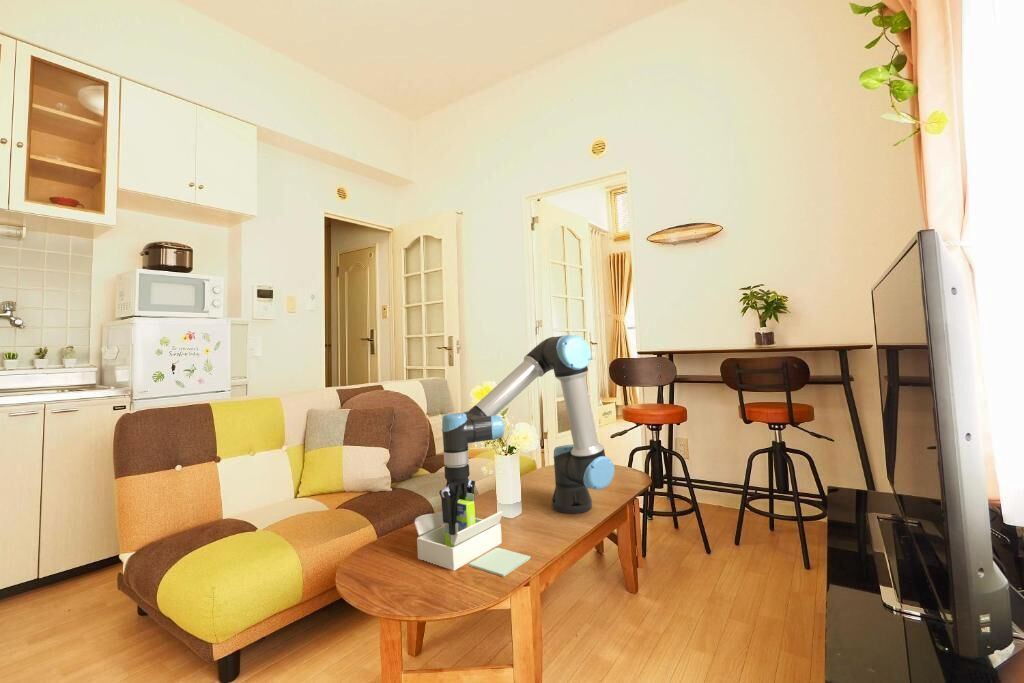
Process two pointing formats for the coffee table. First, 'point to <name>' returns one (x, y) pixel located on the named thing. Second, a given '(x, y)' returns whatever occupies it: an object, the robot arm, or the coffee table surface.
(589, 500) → the robot arm
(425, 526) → the flap far
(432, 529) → the candle
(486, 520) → the flap near
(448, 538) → the box
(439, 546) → the white open carton
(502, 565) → the mat
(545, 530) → the coffee table surface
